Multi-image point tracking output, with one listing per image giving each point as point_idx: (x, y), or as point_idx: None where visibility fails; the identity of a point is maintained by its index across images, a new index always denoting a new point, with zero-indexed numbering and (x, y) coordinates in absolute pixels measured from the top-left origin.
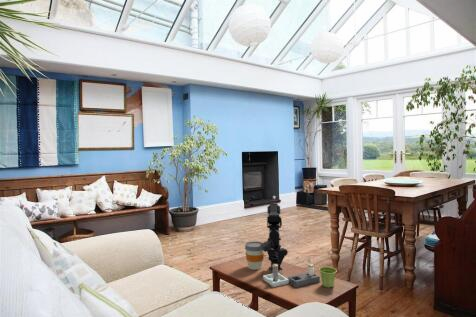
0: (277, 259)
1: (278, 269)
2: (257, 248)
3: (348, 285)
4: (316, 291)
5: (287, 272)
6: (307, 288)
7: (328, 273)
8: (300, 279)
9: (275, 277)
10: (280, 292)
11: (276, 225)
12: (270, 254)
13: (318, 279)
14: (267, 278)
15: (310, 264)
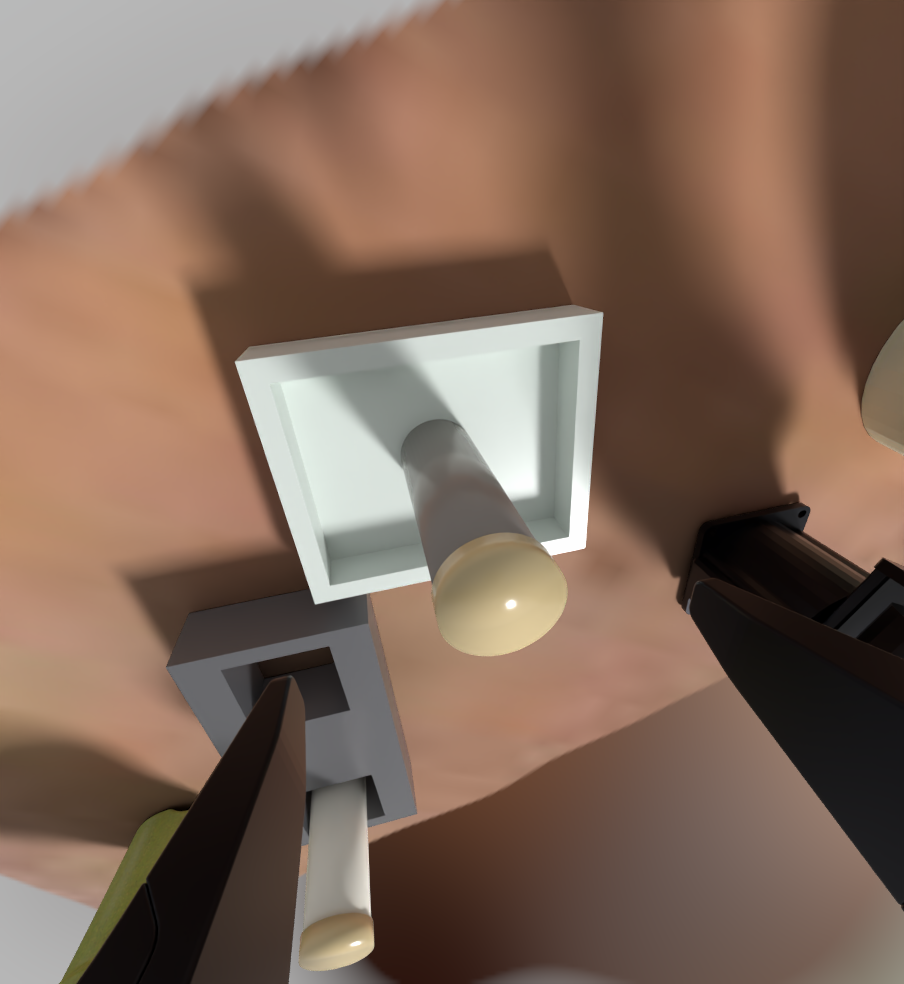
0: (195, 926)
1: (689, 577)
2: None
3: None
4: (47, 746)
5: (593, 629)
6: (140, 696)
7: None
8: (239, 718)
9: (410, 468)
10: (17, 378)
11: None
12: (879, 749)
13: None
14: (457, 339)
15: (346, 951)
